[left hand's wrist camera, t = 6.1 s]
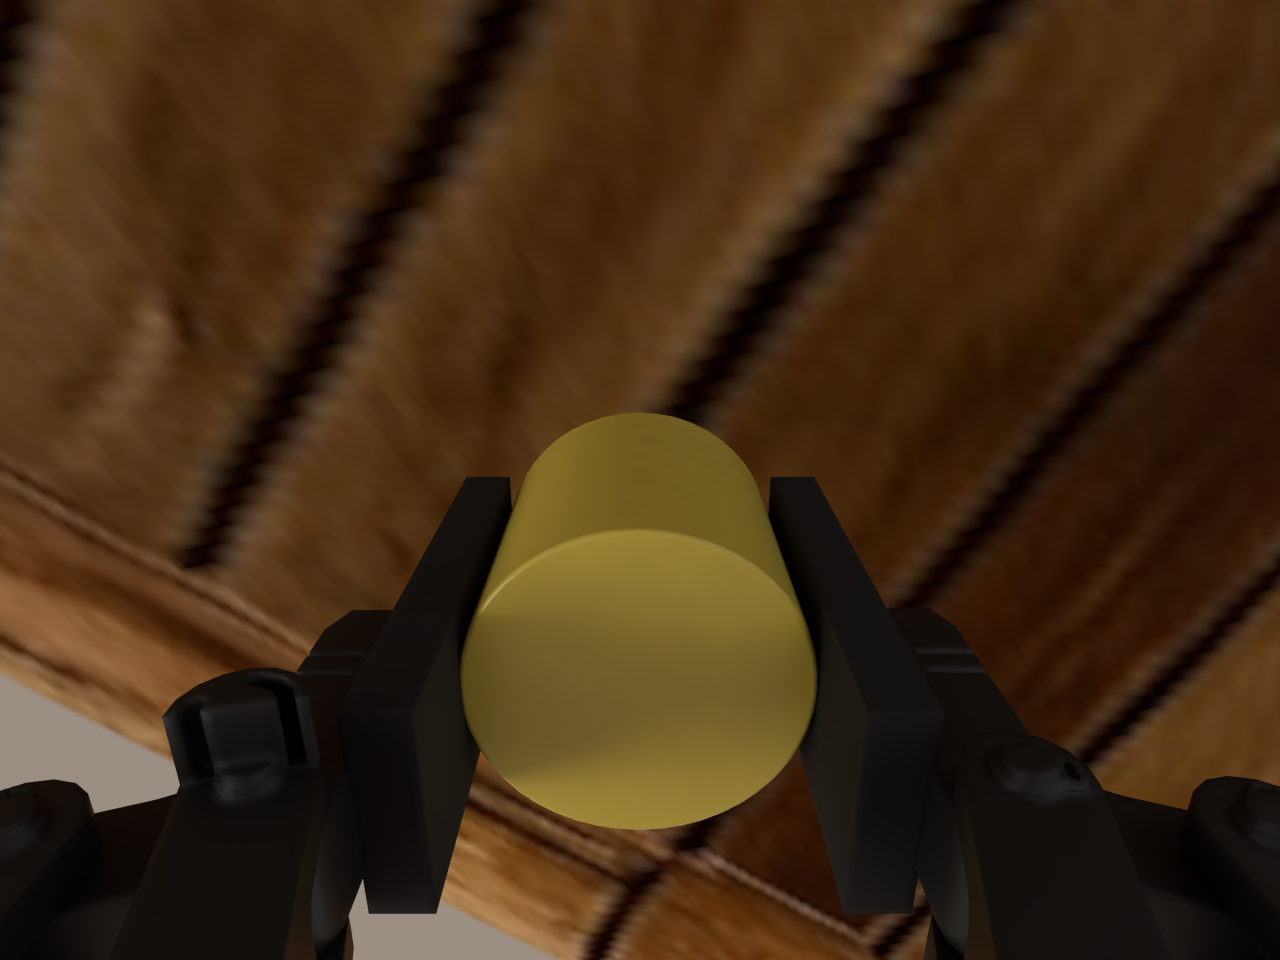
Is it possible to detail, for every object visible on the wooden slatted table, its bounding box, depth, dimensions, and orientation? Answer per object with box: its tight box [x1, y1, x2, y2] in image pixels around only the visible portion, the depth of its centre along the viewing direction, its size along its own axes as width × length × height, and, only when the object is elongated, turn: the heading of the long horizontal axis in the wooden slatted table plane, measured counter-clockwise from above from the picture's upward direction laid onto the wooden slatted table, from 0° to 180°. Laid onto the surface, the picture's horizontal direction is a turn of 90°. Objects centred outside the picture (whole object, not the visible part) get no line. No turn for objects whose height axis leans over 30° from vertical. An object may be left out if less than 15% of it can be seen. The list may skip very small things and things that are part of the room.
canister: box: [460, 413, 818, 830], centre depth 12 cm, size 5×5×5 cm
